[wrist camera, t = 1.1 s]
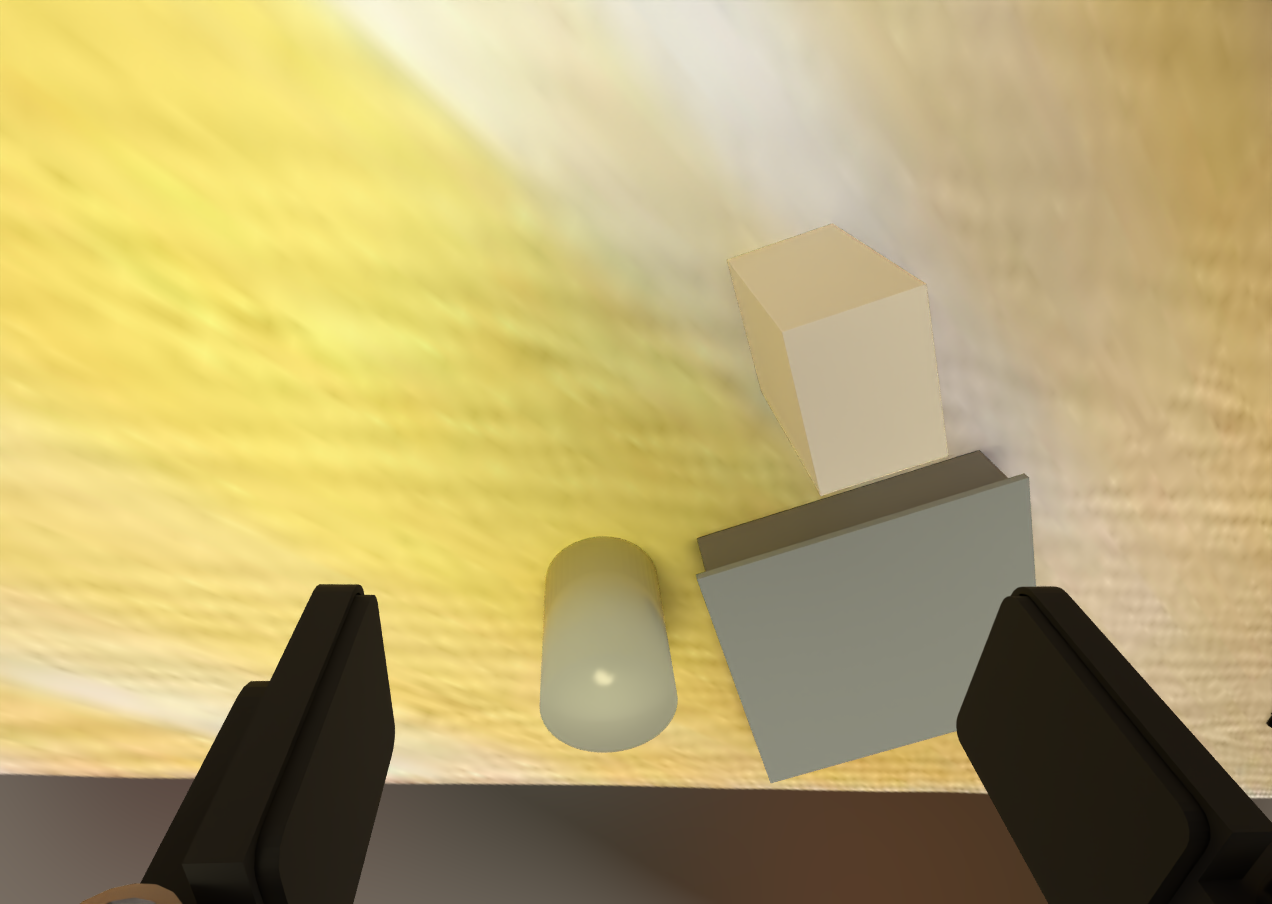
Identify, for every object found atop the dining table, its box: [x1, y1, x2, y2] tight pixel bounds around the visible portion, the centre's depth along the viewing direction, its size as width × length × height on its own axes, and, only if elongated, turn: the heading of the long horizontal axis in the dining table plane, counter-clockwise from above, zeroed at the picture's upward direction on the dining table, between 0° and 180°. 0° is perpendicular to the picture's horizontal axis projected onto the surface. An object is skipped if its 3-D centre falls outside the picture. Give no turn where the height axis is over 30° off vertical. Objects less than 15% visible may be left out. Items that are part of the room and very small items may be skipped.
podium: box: [696, 450, 1036, 783], centre depth 42 cm, size 17×17×4 cm
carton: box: [727, 223, 948, 496], centre depth 31 cm, size 5×7×10 cm
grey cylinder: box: [540, 537, 678, 752], centre depth 38 cm, size 6×6×9 cm
